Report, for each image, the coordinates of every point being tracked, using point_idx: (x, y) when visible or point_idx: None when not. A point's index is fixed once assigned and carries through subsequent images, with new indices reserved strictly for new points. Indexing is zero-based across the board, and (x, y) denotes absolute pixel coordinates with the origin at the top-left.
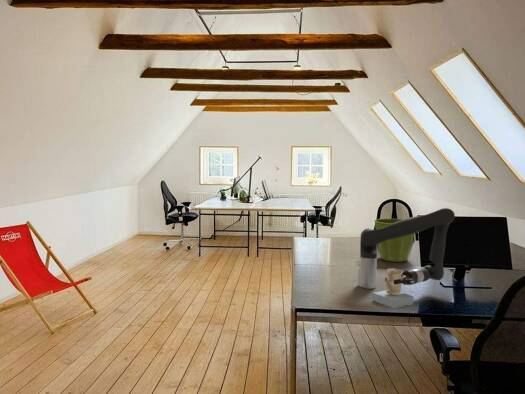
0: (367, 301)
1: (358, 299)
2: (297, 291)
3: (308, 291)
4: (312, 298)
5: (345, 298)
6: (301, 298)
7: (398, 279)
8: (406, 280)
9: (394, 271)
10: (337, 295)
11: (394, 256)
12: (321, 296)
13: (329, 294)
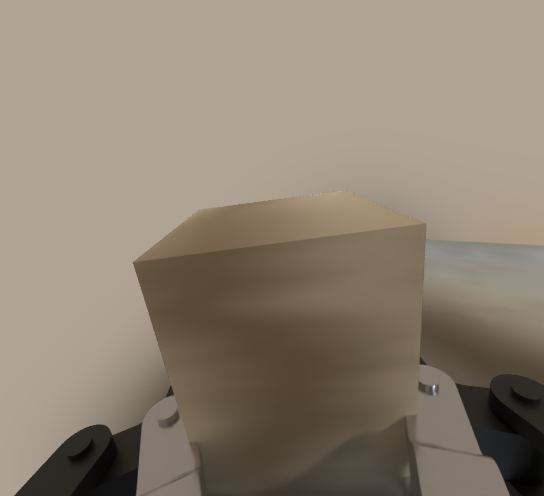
0: None
1: (428, 357)
2: (526, 246)
3: (541, 261)
4: (436, 257)
5: (444, 319)
6: (434, 245)
7: None
8: (38, 483)
9: (199, 210)
10: (500, 310)
11: None
12: (467, 273)
13: (511, 293)
